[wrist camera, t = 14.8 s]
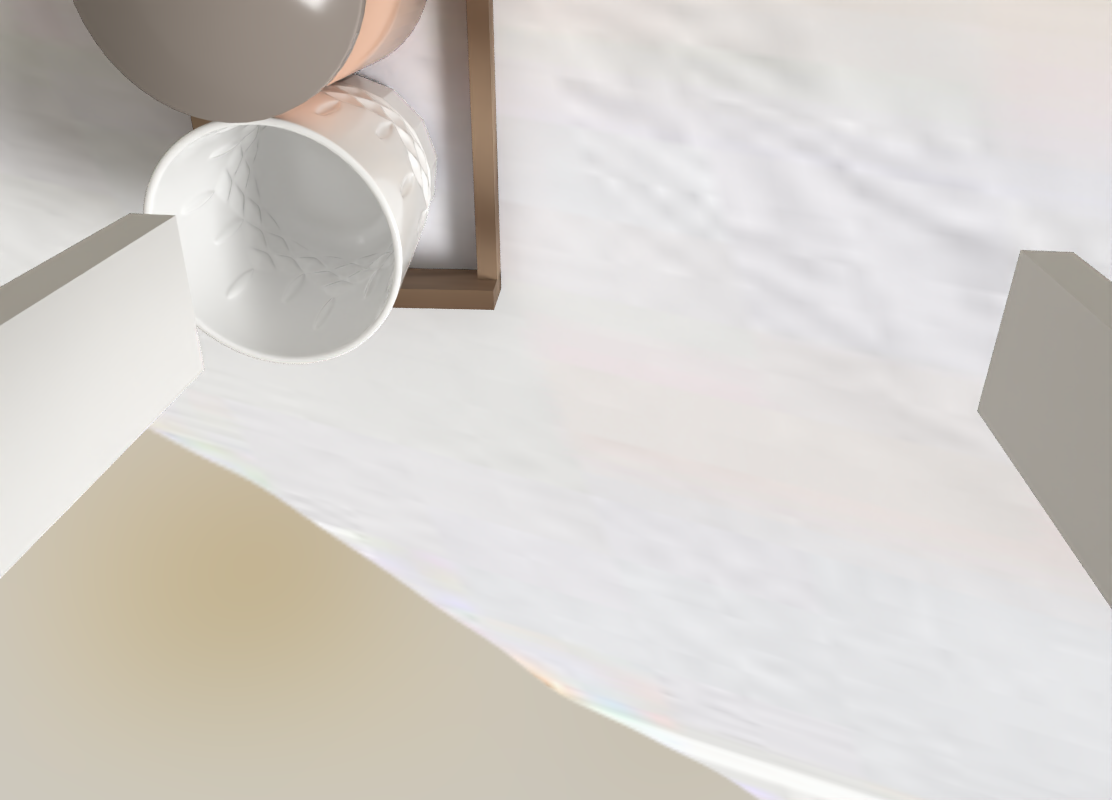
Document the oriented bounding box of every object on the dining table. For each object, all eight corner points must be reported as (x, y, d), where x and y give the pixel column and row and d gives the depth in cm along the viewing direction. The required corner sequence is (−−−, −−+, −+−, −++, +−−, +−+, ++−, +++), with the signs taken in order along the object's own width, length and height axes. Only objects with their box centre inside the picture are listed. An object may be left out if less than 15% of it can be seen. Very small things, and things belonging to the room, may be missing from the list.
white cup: (282, 260, 38) (185, 371, 30) (233, 65, 34) (105, 127, 26) (465, 248, 37) (421, 358, 29) (436, 48, 34) (375, 105, 25)
